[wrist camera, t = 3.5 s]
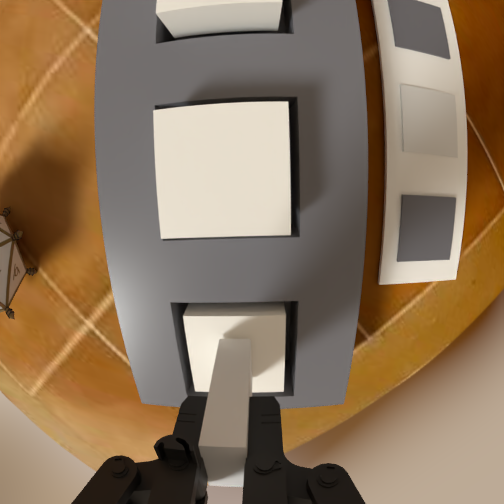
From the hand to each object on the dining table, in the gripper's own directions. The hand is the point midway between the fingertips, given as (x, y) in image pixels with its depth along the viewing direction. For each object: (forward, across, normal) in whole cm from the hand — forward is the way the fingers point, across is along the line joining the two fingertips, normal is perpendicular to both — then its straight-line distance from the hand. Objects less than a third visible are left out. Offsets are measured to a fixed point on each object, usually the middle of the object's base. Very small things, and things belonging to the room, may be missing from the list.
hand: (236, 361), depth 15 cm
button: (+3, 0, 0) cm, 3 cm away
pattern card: (+4, +12, +12) cm, 17 cm away
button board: (+4, 0, +9) cm, 10 cm away
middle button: (+1, 0, +9) cm, 9 cm away
